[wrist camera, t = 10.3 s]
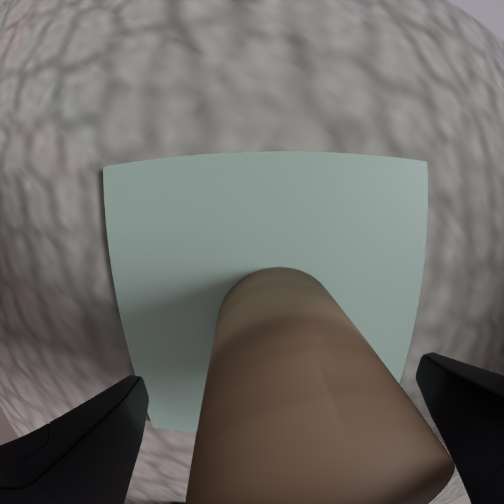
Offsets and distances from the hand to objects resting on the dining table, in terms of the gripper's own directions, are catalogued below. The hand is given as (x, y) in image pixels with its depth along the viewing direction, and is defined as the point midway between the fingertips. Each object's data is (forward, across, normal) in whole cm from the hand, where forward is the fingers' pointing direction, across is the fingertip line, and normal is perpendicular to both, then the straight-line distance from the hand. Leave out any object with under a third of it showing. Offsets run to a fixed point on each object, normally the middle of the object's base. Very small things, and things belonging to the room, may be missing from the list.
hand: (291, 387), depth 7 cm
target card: (+5, 0, 0) cm, 5 cm away
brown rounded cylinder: (+4, 0, 0) cm, 4 cm away
